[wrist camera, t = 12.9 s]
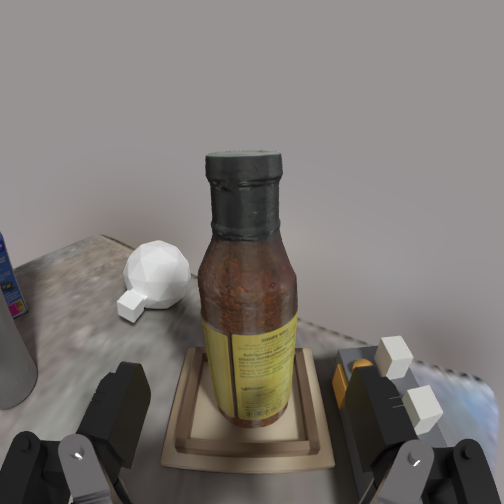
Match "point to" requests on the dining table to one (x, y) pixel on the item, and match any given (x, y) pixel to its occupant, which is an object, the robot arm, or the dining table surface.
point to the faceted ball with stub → (153, 279)
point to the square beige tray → (246, 439)
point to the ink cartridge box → (10, 284)
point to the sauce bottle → (248, 290)
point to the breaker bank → (414, 397)
